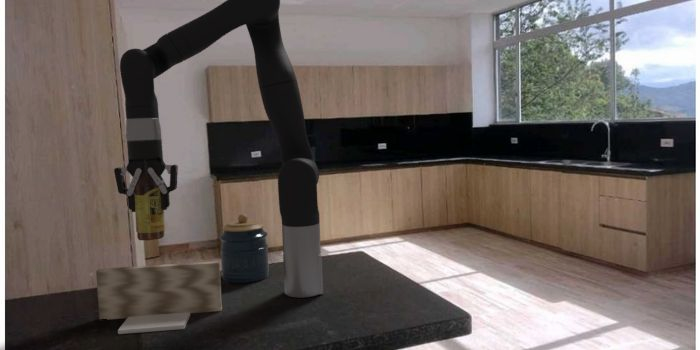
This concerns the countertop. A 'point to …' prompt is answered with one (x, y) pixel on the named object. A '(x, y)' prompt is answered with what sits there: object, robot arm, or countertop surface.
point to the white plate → (154, 323)
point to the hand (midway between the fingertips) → (149, 210)
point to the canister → (244, 251)
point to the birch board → (159, 289)
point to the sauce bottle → (148, 206)
